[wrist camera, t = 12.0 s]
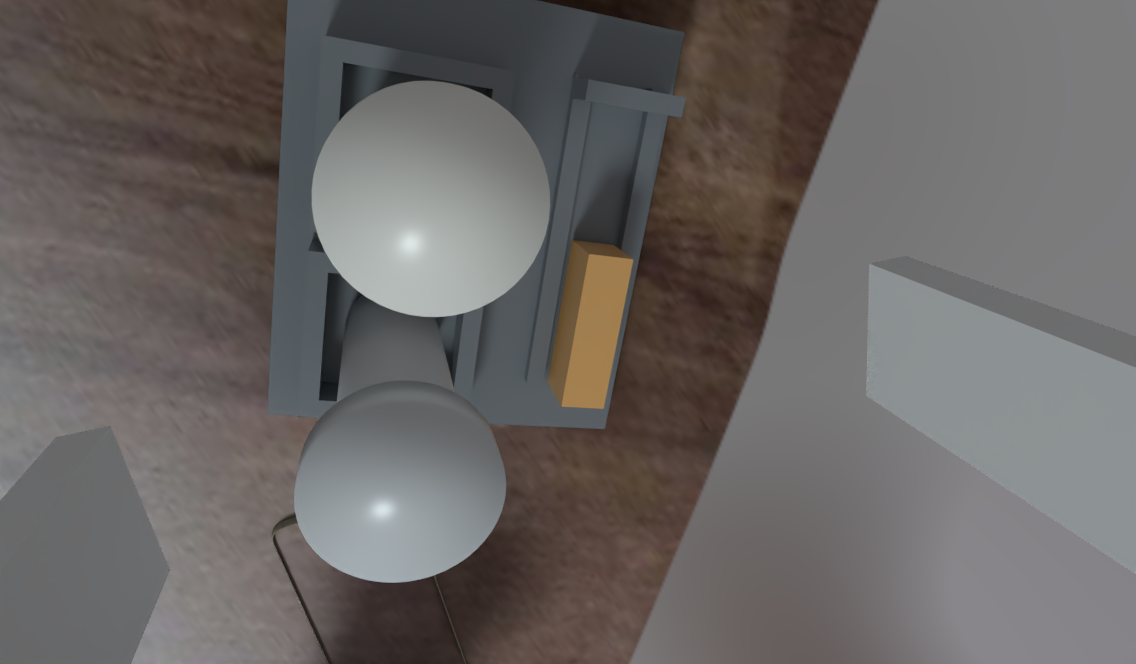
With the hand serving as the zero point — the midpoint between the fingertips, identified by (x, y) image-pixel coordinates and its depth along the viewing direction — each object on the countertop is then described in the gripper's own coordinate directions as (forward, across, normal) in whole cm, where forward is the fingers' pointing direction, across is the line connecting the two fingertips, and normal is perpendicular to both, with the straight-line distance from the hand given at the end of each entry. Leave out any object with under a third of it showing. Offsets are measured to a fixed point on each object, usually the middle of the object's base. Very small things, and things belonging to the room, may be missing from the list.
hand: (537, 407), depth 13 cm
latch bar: (+20, +5, -6) cm, 22 cm away
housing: (+22, +1, -1) cm, 22 cm away
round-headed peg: (+20, -1, +3) cm, 20 cm away
